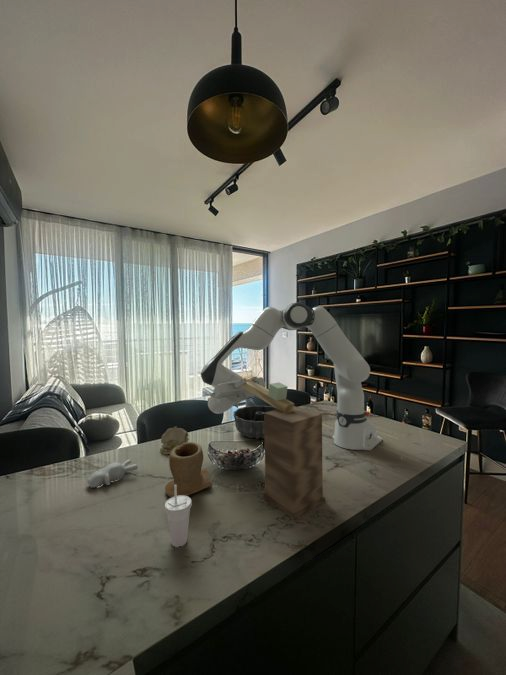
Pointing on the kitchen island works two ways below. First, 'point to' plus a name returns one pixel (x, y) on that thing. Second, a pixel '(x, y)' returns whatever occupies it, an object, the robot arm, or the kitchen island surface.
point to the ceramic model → (173, 439)
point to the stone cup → (187, 470)
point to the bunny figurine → (110, 473)
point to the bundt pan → (251, 420)
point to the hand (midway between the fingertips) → (250, 379)
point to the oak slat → (263, 392)
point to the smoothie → (178, 517)
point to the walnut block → (293, 460)
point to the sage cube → (277, 391)
